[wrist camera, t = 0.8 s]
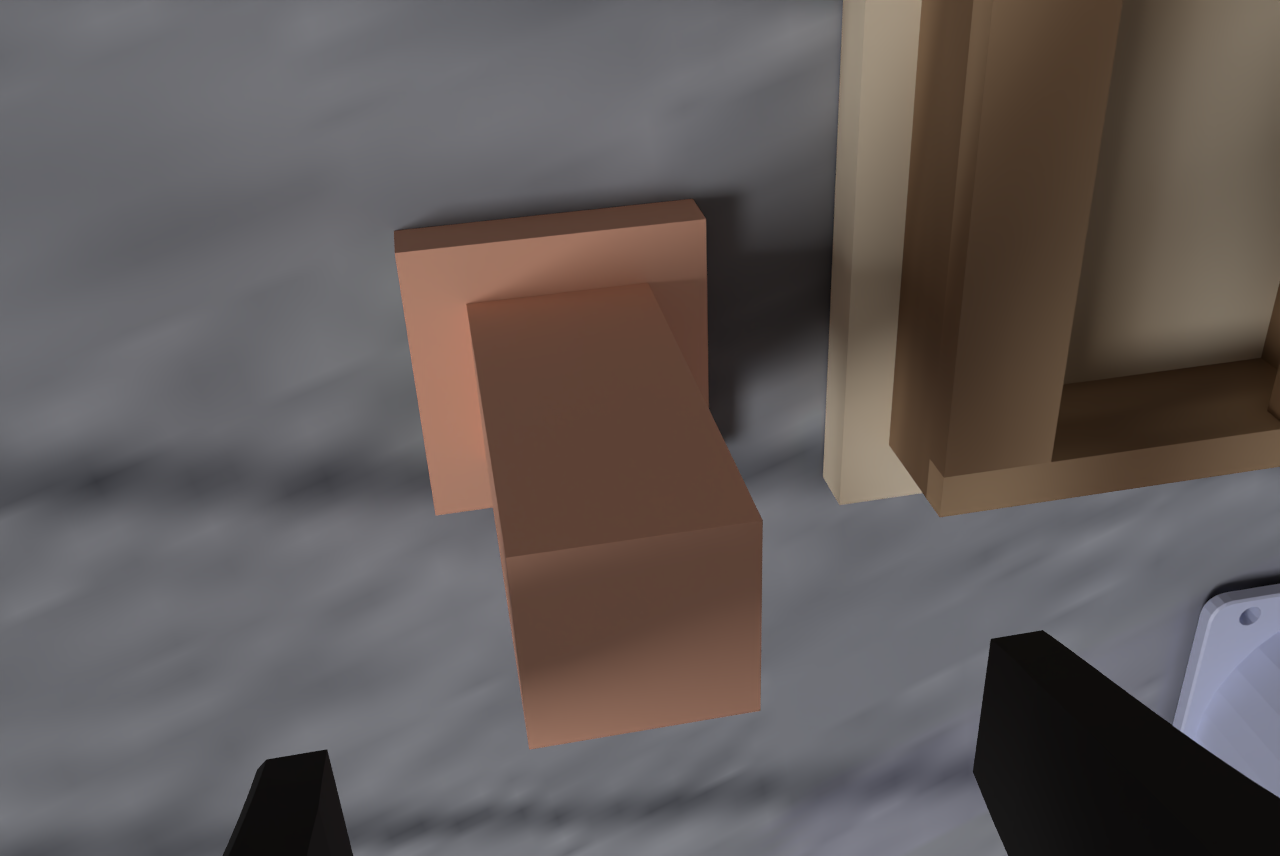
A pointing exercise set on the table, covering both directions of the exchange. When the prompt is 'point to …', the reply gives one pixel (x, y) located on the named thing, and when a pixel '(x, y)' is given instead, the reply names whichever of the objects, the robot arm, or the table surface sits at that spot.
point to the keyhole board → (1137, 218)
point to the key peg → (591, 459)
